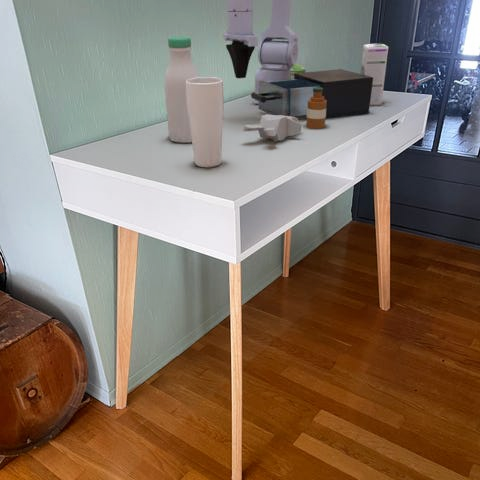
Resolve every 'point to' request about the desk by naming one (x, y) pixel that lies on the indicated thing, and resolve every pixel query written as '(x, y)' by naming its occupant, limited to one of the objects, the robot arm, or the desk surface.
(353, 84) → the cabinet
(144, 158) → the desk surface
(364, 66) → the syrup box
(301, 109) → the drawer
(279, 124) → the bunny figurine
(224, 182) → the desk surface
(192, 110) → the drinking glass
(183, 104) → the milk bottle
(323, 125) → the bottle
